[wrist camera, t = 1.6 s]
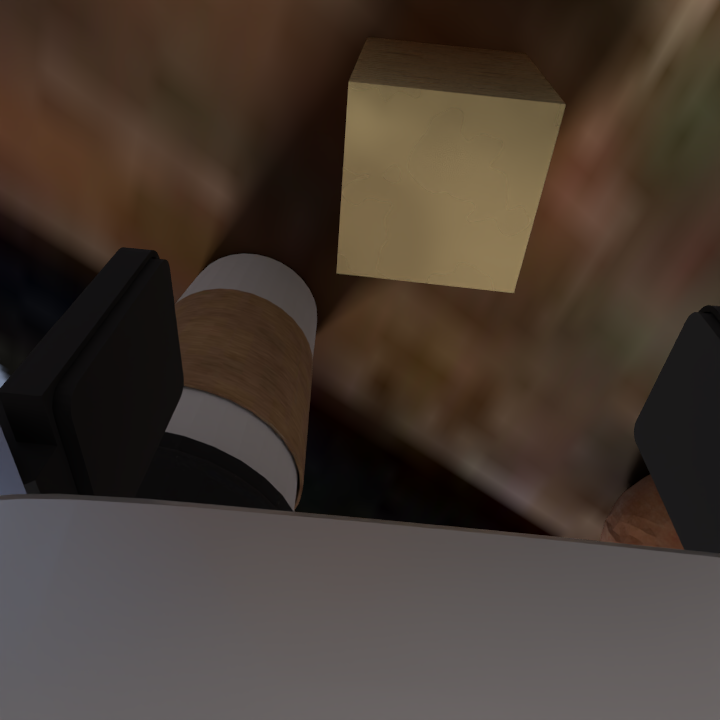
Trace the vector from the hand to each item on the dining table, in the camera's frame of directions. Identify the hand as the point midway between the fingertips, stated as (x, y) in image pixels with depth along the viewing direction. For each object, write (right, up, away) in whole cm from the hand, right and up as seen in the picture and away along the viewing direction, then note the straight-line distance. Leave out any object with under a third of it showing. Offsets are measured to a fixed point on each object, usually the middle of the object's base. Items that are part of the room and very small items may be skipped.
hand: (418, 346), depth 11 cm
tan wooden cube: (+2, +8, +11) cm, 14 cm away
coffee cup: (-6, +2, +17) cm, 18 cm away
